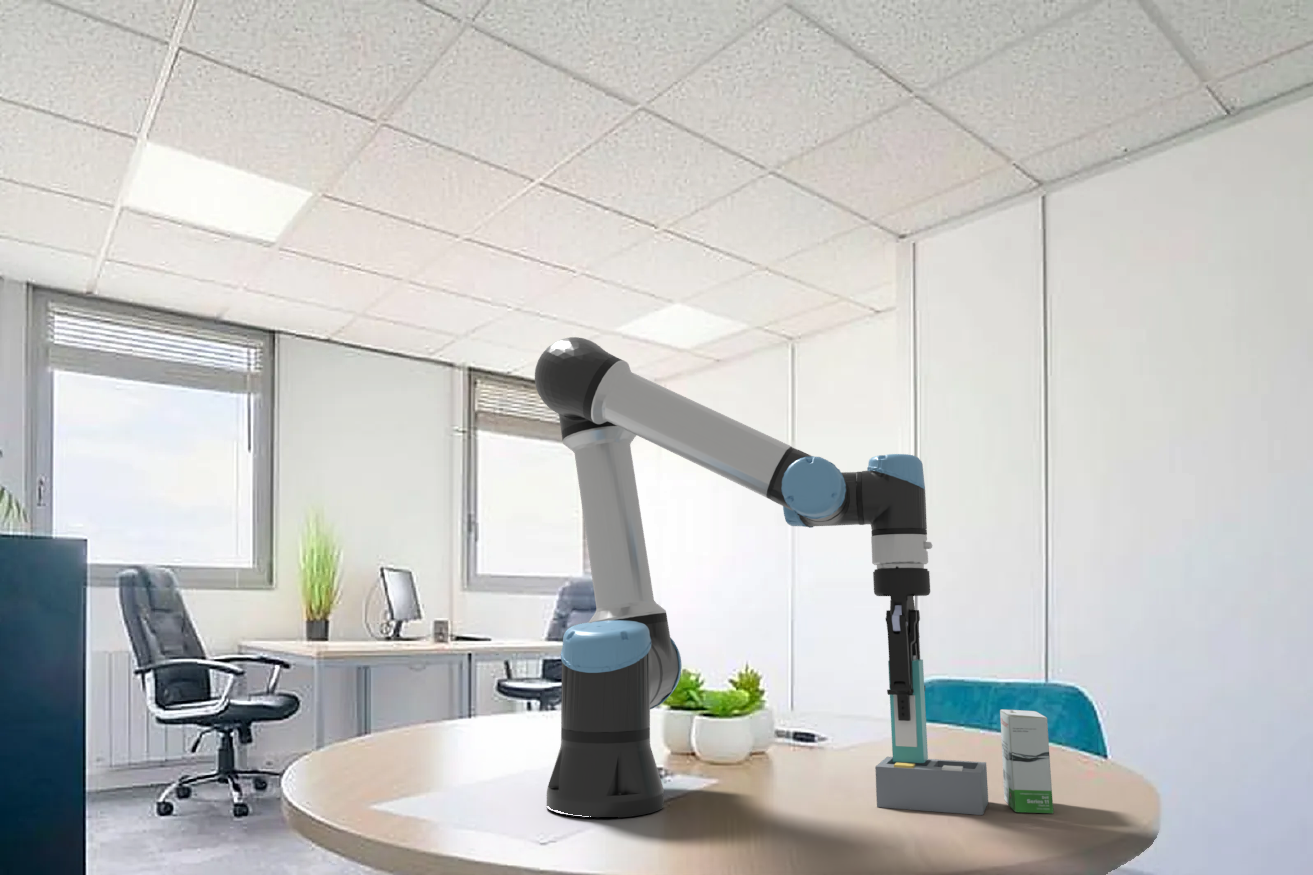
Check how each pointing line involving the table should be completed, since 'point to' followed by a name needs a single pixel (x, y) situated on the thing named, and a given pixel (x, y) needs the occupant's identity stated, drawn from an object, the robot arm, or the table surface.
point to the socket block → (933, 786)
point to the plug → (921, 751)
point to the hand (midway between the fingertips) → (909, 743)
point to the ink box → (1026, 761)
